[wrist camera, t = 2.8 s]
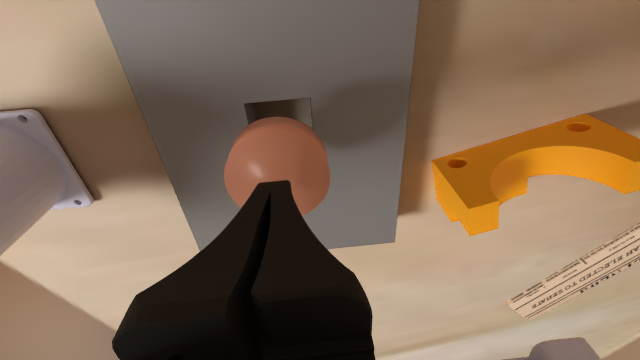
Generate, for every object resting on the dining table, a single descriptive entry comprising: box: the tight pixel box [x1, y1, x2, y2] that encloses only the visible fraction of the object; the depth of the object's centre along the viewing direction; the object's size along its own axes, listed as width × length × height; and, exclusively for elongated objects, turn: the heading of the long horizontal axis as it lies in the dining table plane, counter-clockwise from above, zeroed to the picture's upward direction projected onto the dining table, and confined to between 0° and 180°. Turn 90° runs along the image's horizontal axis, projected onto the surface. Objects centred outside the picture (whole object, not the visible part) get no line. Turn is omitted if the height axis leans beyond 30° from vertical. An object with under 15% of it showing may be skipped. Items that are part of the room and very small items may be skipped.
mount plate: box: [95, 0, 419, 251], centre depth 20 cm, size 16×22×3 cm
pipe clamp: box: [432, 114, 640, 236], centre depth 23 cm, size 12×4×6 cm, turn 108°
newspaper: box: [506, 223, 640, 320], centre depth 33 cm, size 24×7×2 cm, turn 142°
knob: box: [224, 117, 330, 216], centre depth 16 cm, size 5×5×5 cm
